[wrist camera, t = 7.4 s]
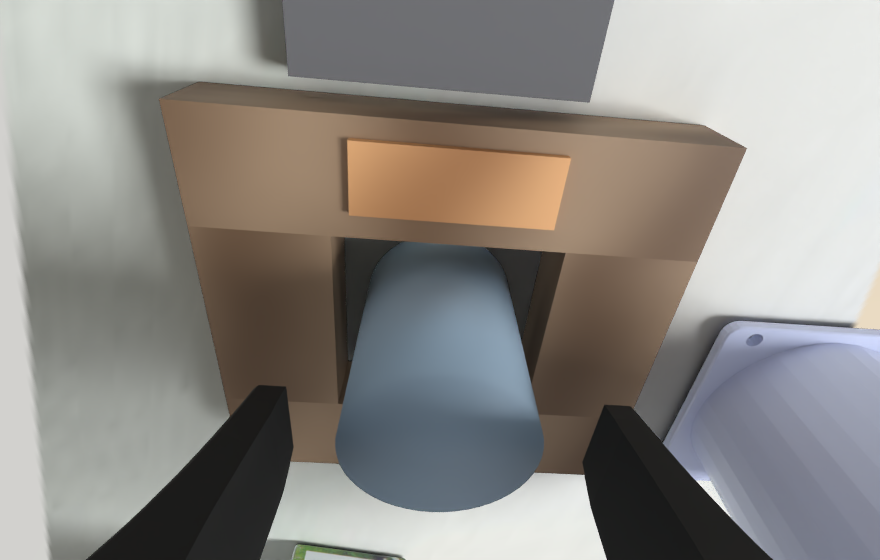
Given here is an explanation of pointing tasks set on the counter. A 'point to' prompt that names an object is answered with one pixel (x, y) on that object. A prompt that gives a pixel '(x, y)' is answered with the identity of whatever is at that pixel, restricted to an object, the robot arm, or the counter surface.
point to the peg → (439, 384)
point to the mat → (451, 44)
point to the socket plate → (439, 235)
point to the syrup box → (333, 554)
